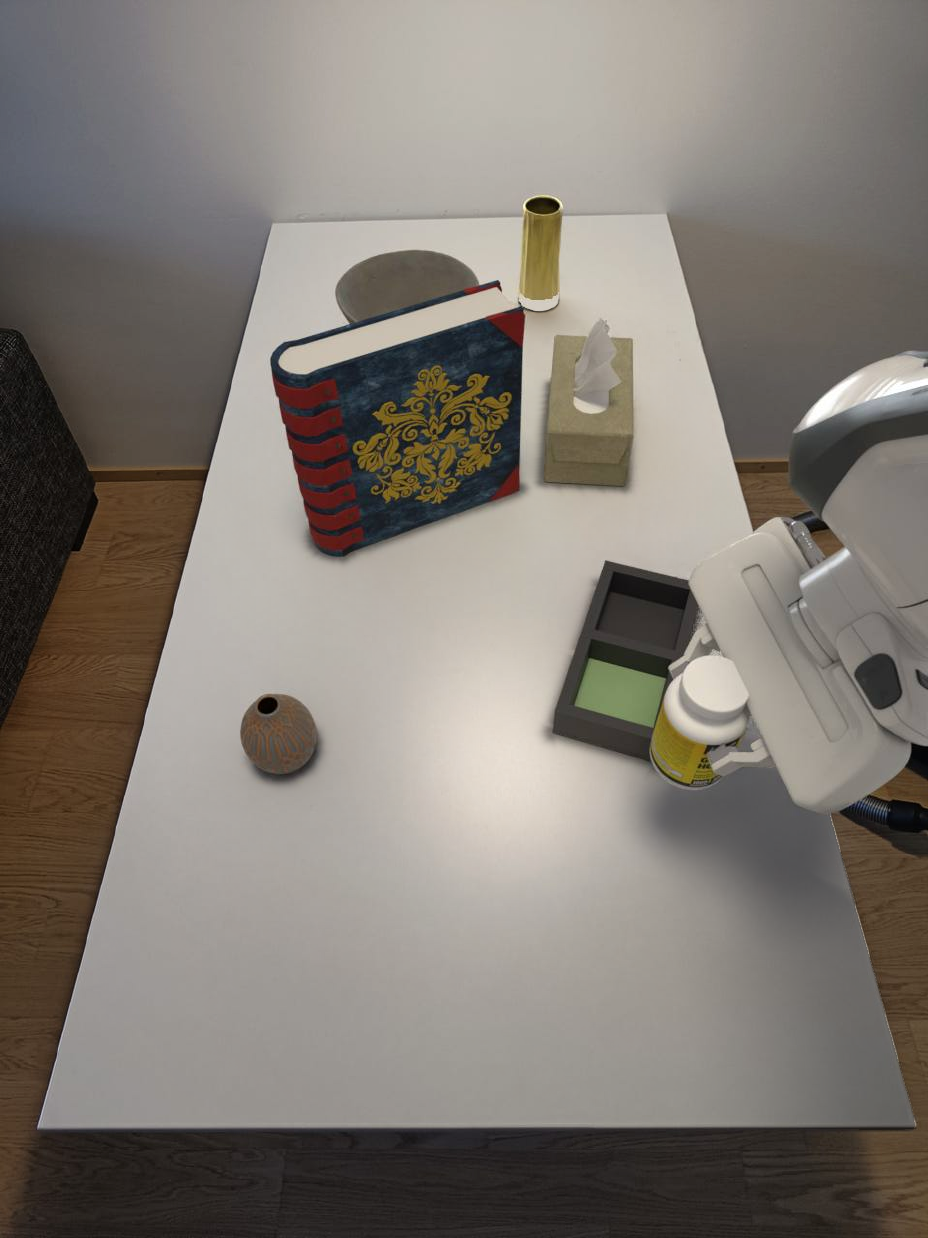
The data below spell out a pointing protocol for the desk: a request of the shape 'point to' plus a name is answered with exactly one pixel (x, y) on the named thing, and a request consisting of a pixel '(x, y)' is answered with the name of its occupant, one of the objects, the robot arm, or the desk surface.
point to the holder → (625, 659)
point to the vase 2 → (540, 248)
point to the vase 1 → (278, 733)
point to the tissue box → (590, 409)
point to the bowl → (399, 282)
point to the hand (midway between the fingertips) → (694, 721)
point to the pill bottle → (699, 721)
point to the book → (404, 415)
